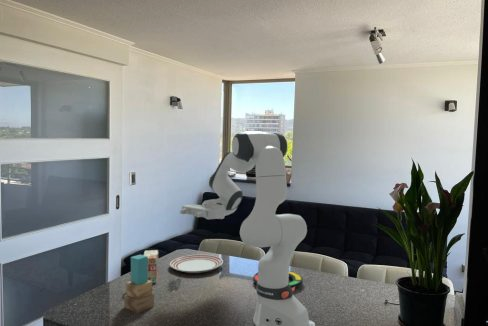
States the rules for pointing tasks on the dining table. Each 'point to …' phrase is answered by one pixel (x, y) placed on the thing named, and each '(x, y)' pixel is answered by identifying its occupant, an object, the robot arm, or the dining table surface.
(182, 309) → the dining table surface
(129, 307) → the walnut base block
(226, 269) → the dining table surface
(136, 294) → the oak top block
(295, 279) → the electronic game
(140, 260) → the teal pillar
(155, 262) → the stack of blocks
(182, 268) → the dinner plate
